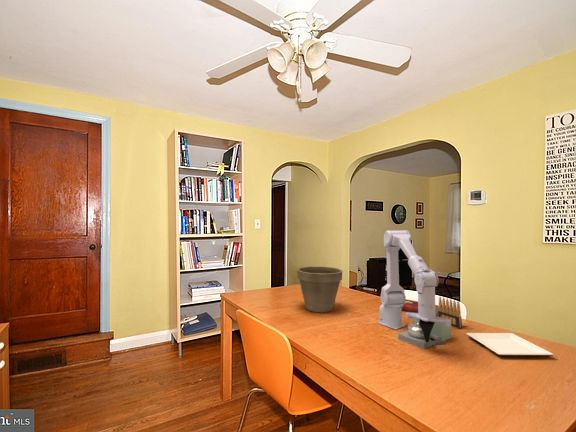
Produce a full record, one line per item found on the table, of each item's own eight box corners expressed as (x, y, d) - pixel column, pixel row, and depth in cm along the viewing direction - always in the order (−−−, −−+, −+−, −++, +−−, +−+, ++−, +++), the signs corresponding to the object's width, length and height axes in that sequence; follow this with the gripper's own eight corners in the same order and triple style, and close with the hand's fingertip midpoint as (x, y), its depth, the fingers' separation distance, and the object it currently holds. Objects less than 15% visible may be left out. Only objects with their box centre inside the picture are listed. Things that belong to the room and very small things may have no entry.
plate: (465, 337, 114) (465, 332, 114) (512, 337, 114) (511, 332, 114) (499, 359, 96) (498, 353, 96) (554, 360, 95) (554, 354, 95)
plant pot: (349, 306, 158) (348, 268, 159) (331, 319, 137) (331, 274, 138) (310, 300, 172) (310, 264, 172) (288, 310, 151) (288, 270, 152)
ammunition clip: (462, 328, 124) (461, 301, 125) (459, 328, 124) (458, 301, 124) (440, 320, 134) (439, 295, 134) (437, 321, 133) (437, 296, 134)
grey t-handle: (403, 331, 115) (403, 320, 115) (421, 330, 116) (421, 319, 116) (430, 348, 99) (430, 335, 99) (450, 346, 100) (450, 334, 100)
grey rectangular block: (397, 338, 114) (396, 321, 114) (423, 328, 124) (423, 312, 124) (425, 349, 104) (425, 330, 104) (451, 337, 114) (451, 320, 114)
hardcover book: (431, 318, 138) (431, 310, 138) (391, 309, 154) (391, 301, 154) (440, 313, 146) (440, 305, 146) (401, 305, 162) (401, 297, 162)
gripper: (403, 303, 105) (404, 340, 105) (447, 310, 96) (448, 350, 96) (408, 299, 111) (408, 334, 110) (450, 305, 102) (450, 343, 102)
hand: (427, 341), depth 104 cm, fingers closed
